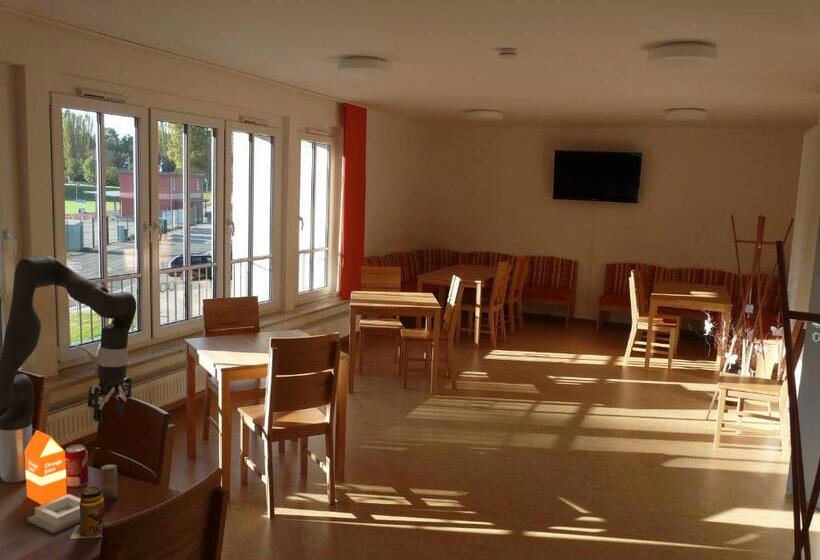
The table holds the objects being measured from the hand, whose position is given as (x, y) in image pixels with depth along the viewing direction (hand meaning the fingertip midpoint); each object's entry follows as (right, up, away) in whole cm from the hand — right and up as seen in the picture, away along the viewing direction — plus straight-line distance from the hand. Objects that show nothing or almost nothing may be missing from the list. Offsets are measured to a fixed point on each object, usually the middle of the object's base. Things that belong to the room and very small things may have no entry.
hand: (108, 417), depth 201 cm
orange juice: (-24, -27, +12) cm, 38 cm away
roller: (-5, -27, +12) cm, 30 cm away
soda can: (-19, -25, +20) cm, 38 cm away
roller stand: (-13, -28, 0) cm, 31 cm away
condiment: (-2, -30, -8) cm, 31 cm away
